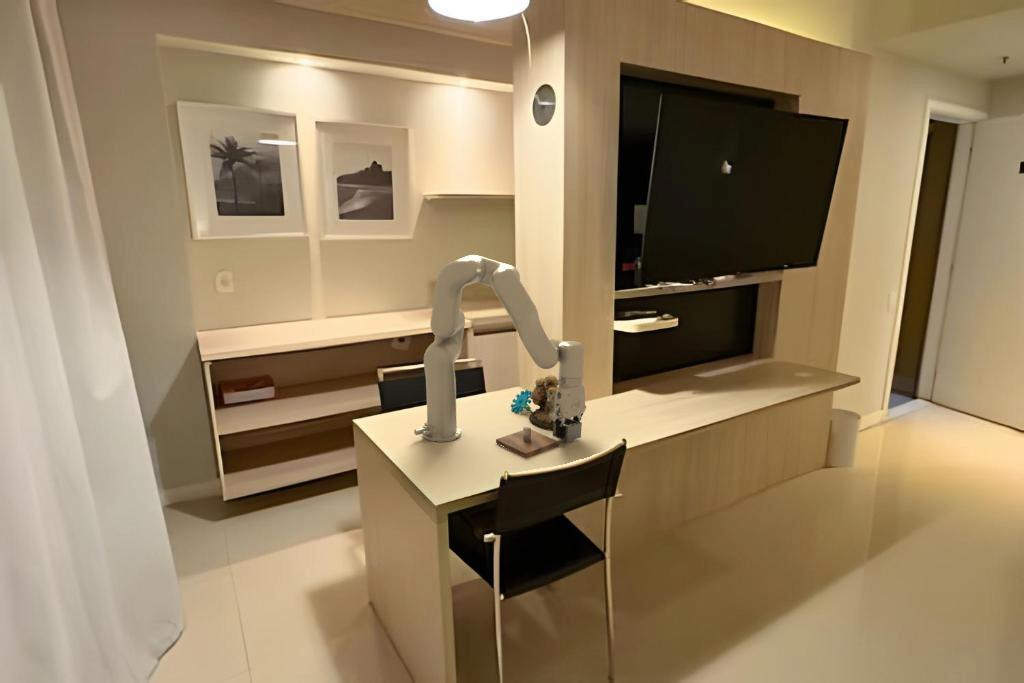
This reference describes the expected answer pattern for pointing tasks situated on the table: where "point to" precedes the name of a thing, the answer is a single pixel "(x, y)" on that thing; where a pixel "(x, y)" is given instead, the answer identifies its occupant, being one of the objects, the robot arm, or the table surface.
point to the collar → (569, 430)
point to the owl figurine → (544, 402)
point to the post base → (527, 442)
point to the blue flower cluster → (522, 402)
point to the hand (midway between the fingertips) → (567, 433)
